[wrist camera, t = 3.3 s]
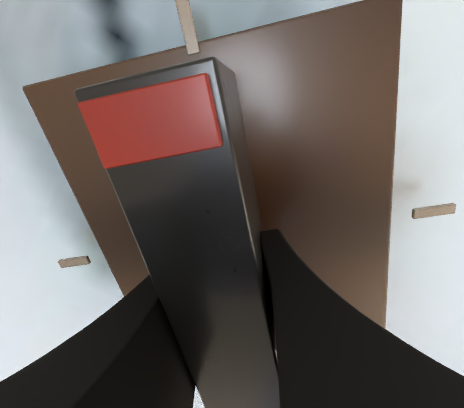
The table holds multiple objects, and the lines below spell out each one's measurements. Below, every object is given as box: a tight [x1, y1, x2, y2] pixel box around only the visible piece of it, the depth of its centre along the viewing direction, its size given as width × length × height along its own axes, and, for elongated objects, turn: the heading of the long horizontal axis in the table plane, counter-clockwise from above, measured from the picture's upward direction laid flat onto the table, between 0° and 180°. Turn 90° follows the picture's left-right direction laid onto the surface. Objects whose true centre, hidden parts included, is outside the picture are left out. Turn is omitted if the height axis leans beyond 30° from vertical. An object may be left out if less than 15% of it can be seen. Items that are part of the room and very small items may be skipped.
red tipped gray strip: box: [74, 56, 280, 408], centre depth 8 cm, size 12×2×5 cm, turn 12°
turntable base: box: [23, 0, 456, 329], centre depth 11 cm, size 16×16×2 cm
